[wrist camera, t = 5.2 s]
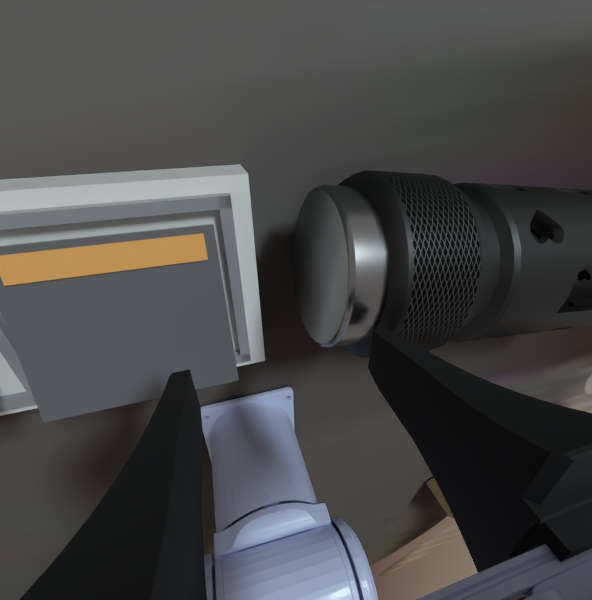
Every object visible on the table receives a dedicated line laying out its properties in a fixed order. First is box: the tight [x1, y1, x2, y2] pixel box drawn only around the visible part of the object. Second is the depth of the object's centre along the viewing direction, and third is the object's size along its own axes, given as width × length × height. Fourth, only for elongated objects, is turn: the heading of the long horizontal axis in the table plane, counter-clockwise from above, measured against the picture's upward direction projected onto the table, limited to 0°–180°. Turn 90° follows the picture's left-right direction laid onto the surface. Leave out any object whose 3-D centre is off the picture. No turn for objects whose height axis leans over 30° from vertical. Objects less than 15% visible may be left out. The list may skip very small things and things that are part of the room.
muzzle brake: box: [293, 170, 592, 357], centre depth 20 cm, size 10×28×10 cm, turn 85°
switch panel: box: [0, 164, 265, 416], centre depth 16 cm, size 12×24×4 cm, turn 91°
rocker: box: [0, 224, 239, 423], centre depth 15 cm, size 8×9×2 cm
